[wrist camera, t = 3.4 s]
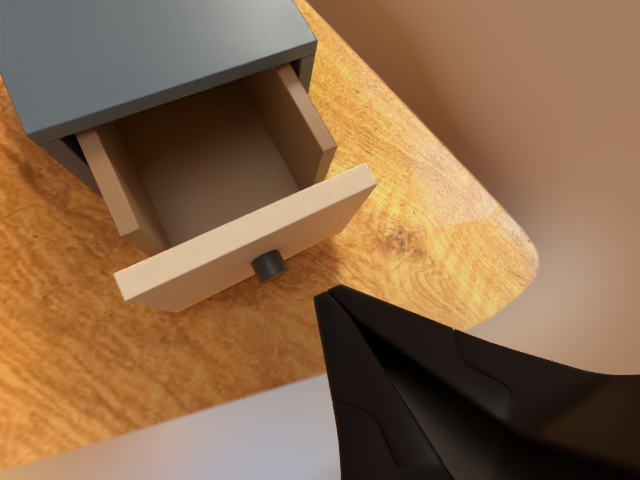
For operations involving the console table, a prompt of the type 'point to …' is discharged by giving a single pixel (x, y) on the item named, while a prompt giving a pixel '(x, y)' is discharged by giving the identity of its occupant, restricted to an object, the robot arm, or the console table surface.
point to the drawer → (221, 187)
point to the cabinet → (134, 59)
